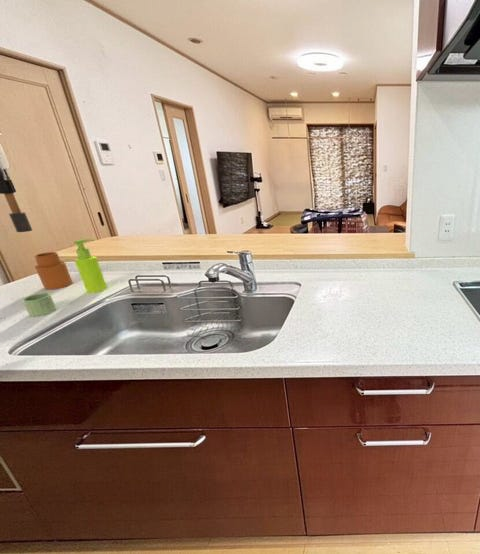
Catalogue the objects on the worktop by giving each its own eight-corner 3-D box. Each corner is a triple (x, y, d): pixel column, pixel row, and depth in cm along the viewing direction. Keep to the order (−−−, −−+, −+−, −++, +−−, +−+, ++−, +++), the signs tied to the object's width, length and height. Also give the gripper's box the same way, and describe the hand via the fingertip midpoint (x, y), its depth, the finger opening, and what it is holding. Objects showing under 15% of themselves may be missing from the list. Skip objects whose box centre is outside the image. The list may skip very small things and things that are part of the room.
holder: (28, 320, 93) (20, 303, 91) (31, 312, 97) (23, 296, 95) (56, 314, 97) (49, 297, 94) (57, 307, 101) (51, 291, 99)
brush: (15, 232, 97) (-11, 175, 90) (17, 230, 100) (-7, 174, 93) (31, 231, 99) (7, 174, 92) (33, 229, 102) (10, 174, 95)
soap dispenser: (113, 289, 115) (95, 239, 108) (90, 295, 110) (70, 243, 102) (107, 285, 118) (89, 236, 110) (84, 291, 113) (65, 240, 105)
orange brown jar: (43, 291, 112) (29, 259, 107) (45, 284, 118) (32, 253, 113) (72, 285, 117) (59, 254, 112) (73, 280, 123) (61, 250, 118)
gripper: (-31, 129, 91) (-4, 191, 98) (-50, 126, 80) (-18, 196, 87) (5, 131, 96) (29, 190, 103) (-8, 128, 84) (20, 194, 91)
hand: (7, 192), depth 95 cm, fingers closed on brush, 2 cm apart
